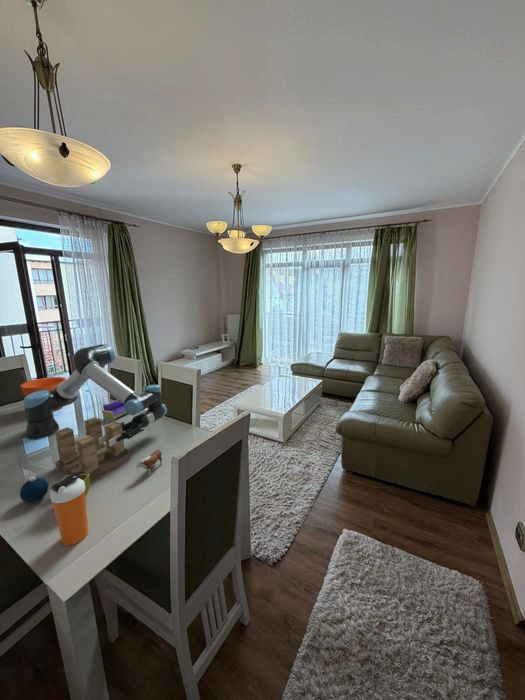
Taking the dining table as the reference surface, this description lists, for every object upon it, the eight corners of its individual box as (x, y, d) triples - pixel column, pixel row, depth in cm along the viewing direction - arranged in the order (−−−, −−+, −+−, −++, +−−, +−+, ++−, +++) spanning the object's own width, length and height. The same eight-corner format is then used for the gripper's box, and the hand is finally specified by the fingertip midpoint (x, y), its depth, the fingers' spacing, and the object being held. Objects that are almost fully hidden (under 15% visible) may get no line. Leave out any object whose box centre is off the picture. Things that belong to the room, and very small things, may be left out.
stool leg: (107, 454, 127) (103, 426, 125) (116, 449, 132) (113, 421, 129) (116, 456, 126) (112, 427, 123) (124, 450, 130) (121, 423, 128)
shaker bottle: (98, 528, 92) (90, 474, 88) (72, 552, 84) (62, 492, 80) (78, 522, 95) (69, 469, 91) (51, 543, 86) (40, 486, 83)
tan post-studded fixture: (56, 468, 125) (49, 432, 122) (99, 447, 143) (95, 415, 139) (86, 484, 114) (80, 445, 111) (130, 459, 131) (126, 425, 128)
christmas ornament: (46, 489, 112) (42, 466, 110) (53, 498, 106) (48, 474, 104) (19, 501, 105) (14, 477, 103) (24, 511, 100) (19, 486, 98)
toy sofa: (112, 422, 171) (110, 407, 169) (102, 420, 174) (100, 405, 173) (139, 409, 190) (137, 395, 189) (129, 408, 194) (127, 394, 192)
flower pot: (69, 495, 108) (66, 474, 106) (93, 494, 108) (90, 473, 107) (54, 512, 99) (50, 490, 97) (80, 511, 100) (77, 488, 98)
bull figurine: (135, 478, 117) (133, 461, 116) (158, 461, 129) (156, 445, 128) (143, 481, 116) (141, 463, 114) (165, 463, 128) (164, 447, 126)
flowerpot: (52, 416, 181) (47, 387, 177) (14, 417, 181) (9, 388, 177) (78, 402, 205) (74, 376, 202) (44, 402, 206) (40, 377, 202)
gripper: (157, 429, 142) (121, 453, 120) (129, 424, 148) (90, 447, 126) (156, 415, 140) (119, 437, 119) (128, 411, 146) (88, 431, 125)
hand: (104, 442), depth 122 cm, fingers closed on stool leg, 5 cm apart
